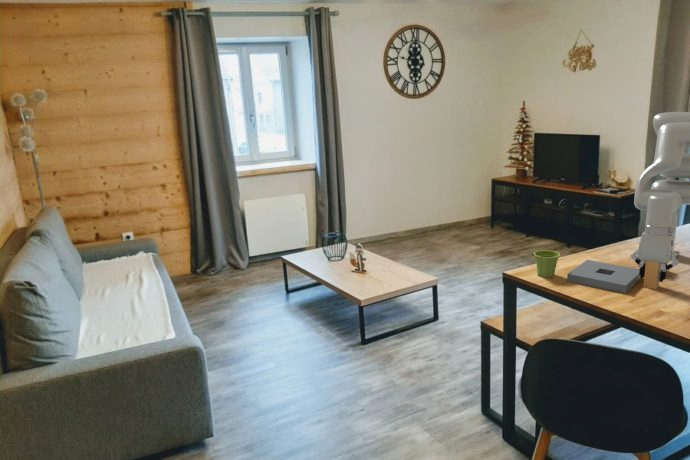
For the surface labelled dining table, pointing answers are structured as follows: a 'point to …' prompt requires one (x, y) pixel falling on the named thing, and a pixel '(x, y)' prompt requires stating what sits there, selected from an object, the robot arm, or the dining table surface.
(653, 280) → the plug
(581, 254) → the dining table surface
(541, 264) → the plant pot
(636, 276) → the socket plate
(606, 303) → the dining table surface
